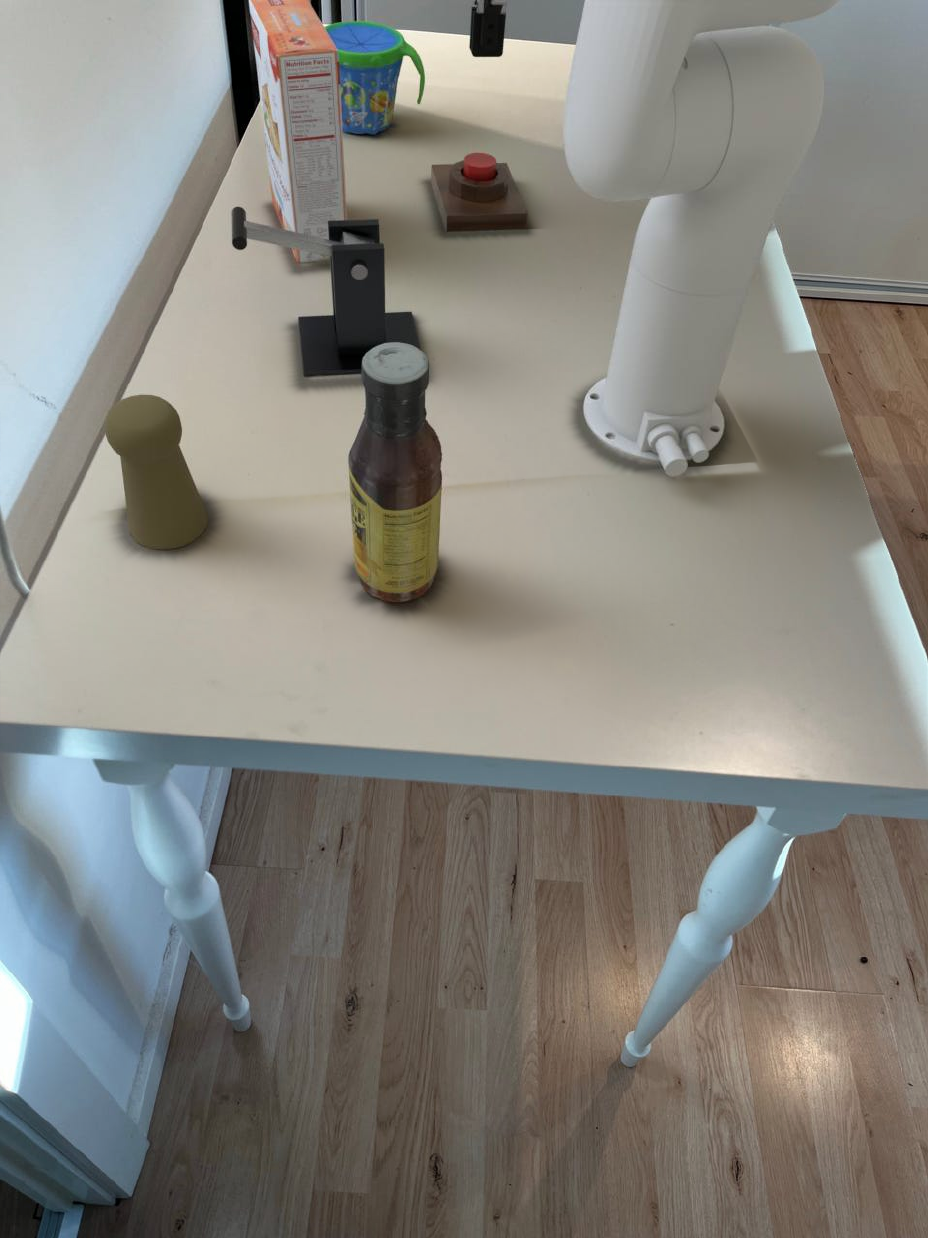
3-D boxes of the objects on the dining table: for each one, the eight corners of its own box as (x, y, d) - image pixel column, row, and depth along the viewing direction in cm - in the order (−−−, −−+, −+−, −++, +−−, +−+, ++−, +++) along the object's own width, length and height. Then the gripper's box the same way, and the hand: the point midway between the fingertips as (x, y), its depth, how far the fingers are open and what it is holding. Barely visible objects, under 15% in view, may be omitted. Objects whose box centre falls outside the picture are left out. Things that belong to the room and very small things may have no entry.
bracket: (304, 384, 86) (293, 264, 77) (299, 328, 91) (287, 210, 82) (424, 377, 87) (426, 259, 78) (411, 322, 93) (412, 206, 84)
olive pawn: (207, 492, 76) (183, 379, 68) (207, 546, 72) (182, 433, 64) (130, 498, 75) (96, 384, 67) (126, 552, 72) (89, 439, 63)
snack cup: (431, 115, 123) (433, 28, 115) (412, 151, 116) (413, 61, 109) (316, 99, 125) (311, 12, 117) (291, 133, 118) (283, 43, 110)
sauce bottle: (362, 543, 73) (353, 318, 58) (442, 551, 73) (453, 329, 58) (347, 606, 69) (332, 382, 54) (431, 616, 69) (441, 394, 54)
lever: (229, 255, 77) (234, 228, 76) (229, 224, 80) (233, 197, 79) (371, 285, 81) (378, 260, 80) (365, 254, 85) (372, 230, 83)
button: (497, 182, 105) (499, 166, 103) (465, 183, 104) (466, 167, 103) (491, 167, 107) (493, 151, 106) (460, 168, 106) (461, 152, 105)
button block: (525, 232, 105) (529, 197, 102) (446, 234, 104) (447, 199, 101) (505, 180, 113) (508, 146, 110) (431, 182, 111) (431, 148, 108)
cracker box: (269, 206, 106) (245, -7, 90) (321, 201, 107) (308, -10, 91) (294, 272, 98) (273, 50, 81) (351, 265, 99) (341, 45, 83)
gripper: (562, -153, 78) (536, 84, 92) (526, -197, 87) (507, 25, 101) (473, -155, 77) (461, 85, 91) (446, -199, 86) (438, 25, 100)
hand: (485, 53), depth 96 cm, fingers closed
